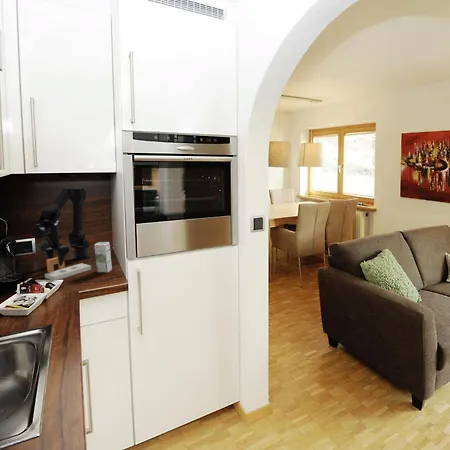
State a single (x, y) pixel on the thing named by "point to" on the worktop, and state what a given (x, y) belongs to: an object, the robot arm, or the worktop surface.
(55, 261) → the clip
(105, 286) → the worktop surface
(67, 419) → the worktop surface
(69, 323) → the worktop surface
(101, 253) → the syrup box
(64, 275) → the rail
